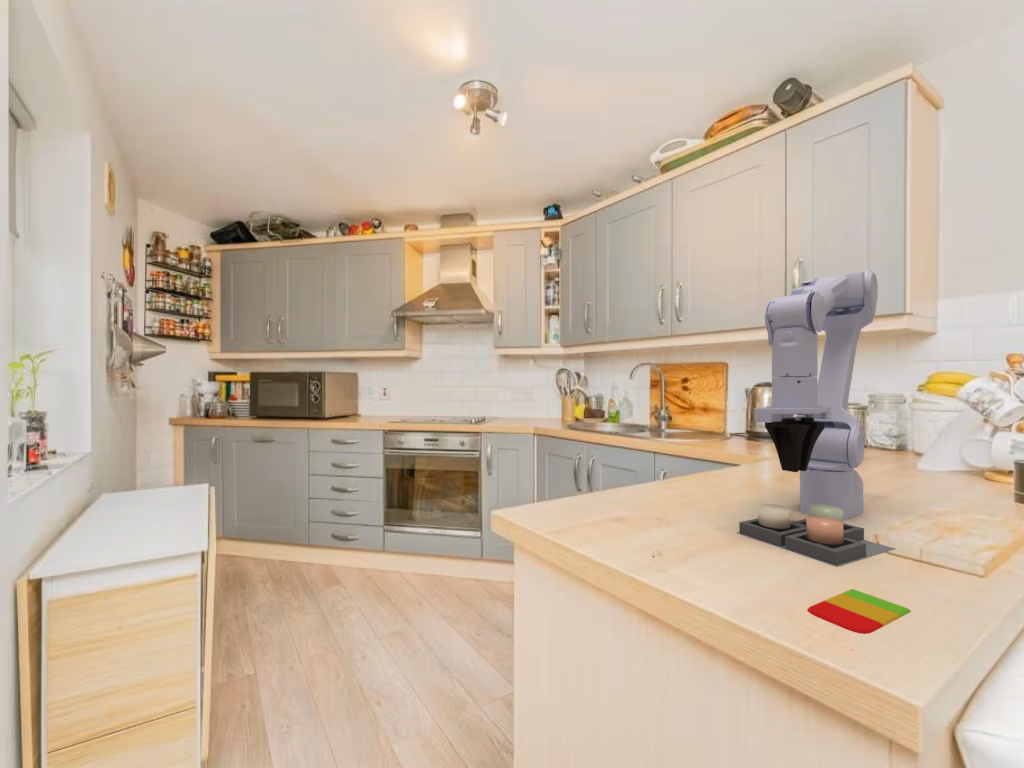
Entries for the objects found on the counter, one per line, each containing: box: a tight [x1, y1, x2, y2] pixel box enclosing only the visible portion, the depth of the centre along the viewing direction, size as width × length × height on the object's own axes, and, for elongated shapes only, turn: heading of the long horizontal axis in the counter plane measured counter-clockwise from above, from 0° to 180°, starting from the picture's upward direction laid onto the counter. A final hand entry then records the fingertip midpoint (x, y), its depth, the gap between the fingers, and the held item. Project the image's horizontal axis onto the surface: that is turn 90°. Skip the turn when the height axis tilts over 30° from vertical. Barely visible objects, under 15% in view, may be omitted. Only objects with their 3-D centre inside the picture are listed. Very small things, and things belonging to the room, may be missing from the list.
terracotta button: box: [805, 516, 844, 545], centre depth 61 cm, size 4×4×2 cm
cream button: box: [757, 503, 791, 529], centre depth 67 cm, size 4×4×2 cm
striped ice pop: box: [807, 588, 912, 635], centre depth 47 cm, size 6×15×2 cm, turn 119°
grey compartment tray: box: [736, 517, 896, 568], centre depth 65 cm, size 13×14×3 cm
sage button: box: [809, 504, 844, 523], centre depth 67 cm, size 4×4×2 cm
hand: (794, 470), depth 68 cm, fingers closed
